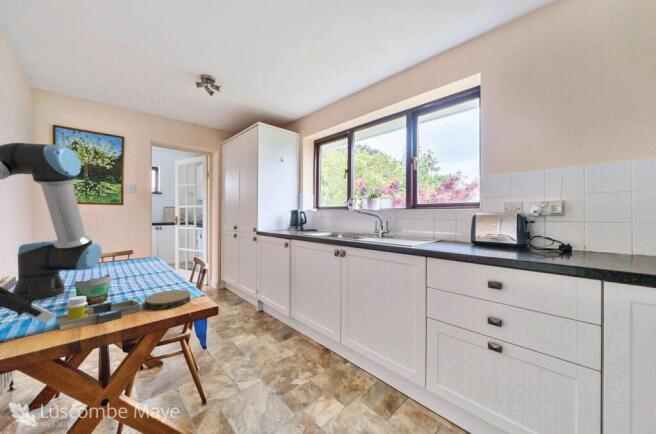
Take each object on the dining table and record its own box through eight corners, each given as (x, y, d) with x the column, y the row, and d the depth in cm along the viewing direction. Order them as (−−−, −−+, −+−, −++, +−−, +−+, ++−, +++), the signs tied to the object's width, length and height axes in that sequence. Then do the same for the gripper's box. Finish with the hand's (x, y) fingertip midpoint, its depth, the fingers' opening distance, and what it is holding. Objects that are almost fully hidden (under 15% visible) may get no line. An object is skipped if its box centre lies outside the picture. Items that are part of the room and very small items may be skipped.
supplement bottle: (88, 322, 83) (88, 297, 83) (67, 327, 80) (67, 301, 80) (87, 318, 87) (87, 294, 86) (67, 322, 83) (67, 297, 83)
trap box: (54, 321, 83) (54, 314, 83) (133, 303, 101) (133, 297, 101) (61, 333, 76) (61, 325, 76) (145, 311, 93) (145, 305, 93)
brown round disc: (146, 314, 92) (146, 306, 92) (143, 301, 104) (143, 294, 104) (194, 304, 102) (194, 297, 102) (186, 294, 114) (186, 287, 114)
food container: (85, 309, 94) (85, 282, 94) (73, 307, 96) (73, 281, 95) (119, 298, 106) (119, 275, 106) (107, 297, 108) (107, 274, 108)
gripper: (-62, 283, 66) (34, 323, 80) (-69, 293, 58) (39, 336, 72) (-27, 260, 70) (59, 302, 84) (-29, 267, 63) (66, 312, 76)
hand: (50, 318), depth 78 cm, fingers closed
